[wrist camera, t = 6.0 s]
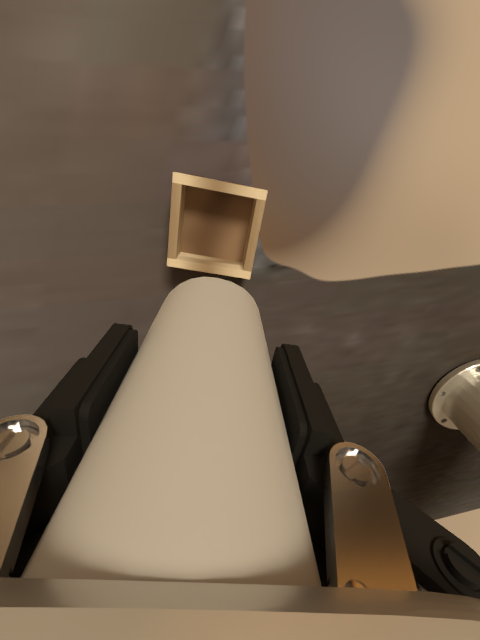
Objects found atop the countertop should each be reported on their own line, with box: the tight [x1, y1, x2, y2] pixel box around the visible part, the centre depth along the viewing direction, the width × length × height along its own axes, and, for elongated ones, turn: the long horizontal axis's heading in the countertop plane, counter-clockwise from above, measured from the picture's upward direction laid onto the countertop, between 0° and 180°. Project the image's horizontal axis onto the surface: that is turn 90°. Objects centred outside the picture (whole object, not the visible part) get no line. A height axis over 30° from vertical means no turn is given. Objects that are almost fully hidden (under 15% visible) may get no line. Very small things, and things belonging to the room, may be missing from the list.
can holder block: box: [167, 172, 268, 279], centre depth 28 cm, size 8×8×4 cm
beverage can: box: [20, 277, 322, 587], centre depth 9 cm, size 5×5×12 cm
